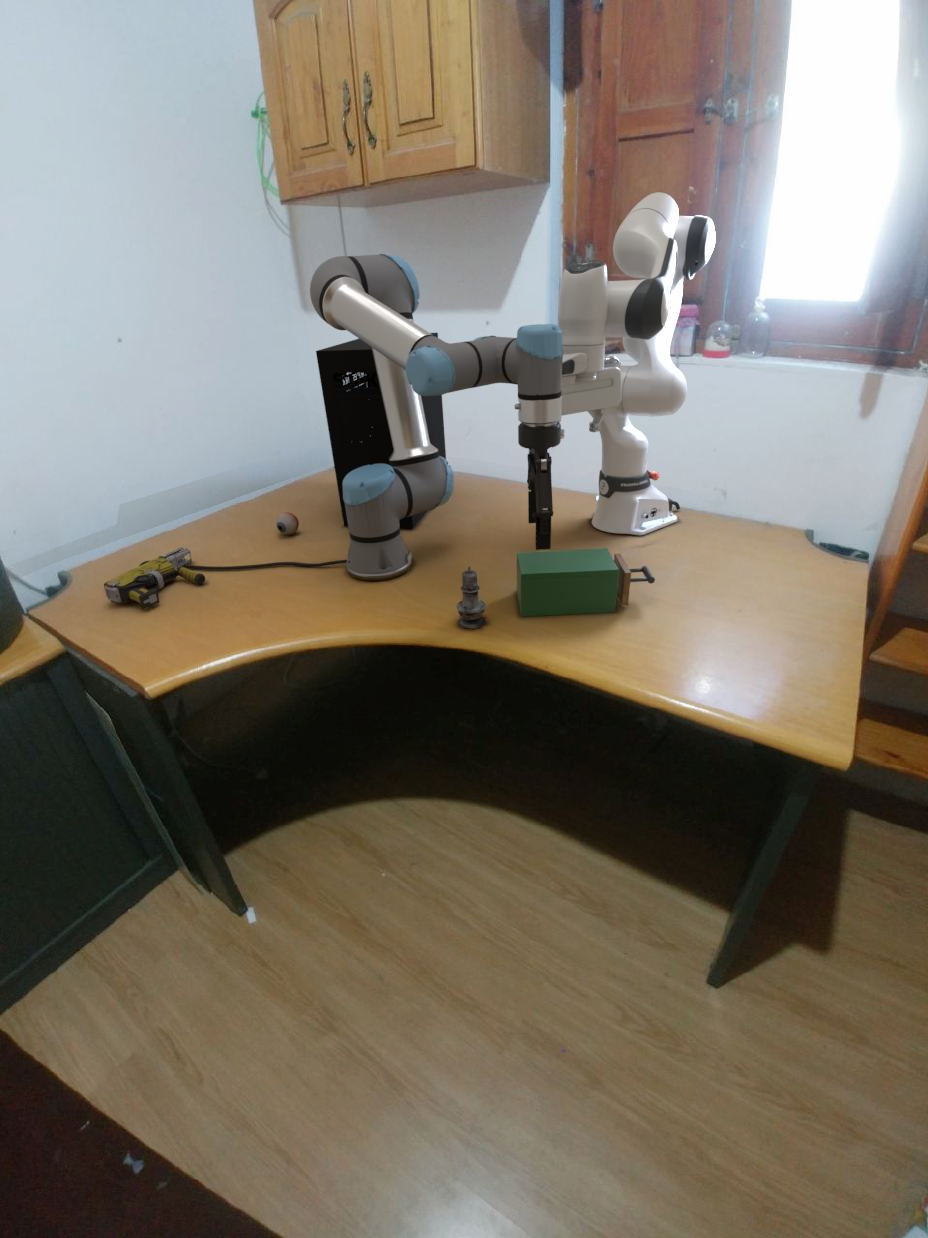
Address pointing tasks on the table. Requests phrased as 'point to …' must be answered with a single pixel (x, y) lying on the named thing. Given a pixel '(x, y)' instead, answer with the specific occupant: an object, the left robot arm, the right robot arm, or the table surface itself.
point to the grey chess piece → (471, 602)
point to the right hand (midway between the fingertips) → (576, 435)
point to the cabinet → (566, 582)
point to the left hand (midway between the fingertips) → (539, 535)
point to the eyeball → (287, 523)
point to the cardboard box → (364, 414)
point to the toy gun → (150, 579)
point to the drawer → (628, 578)
